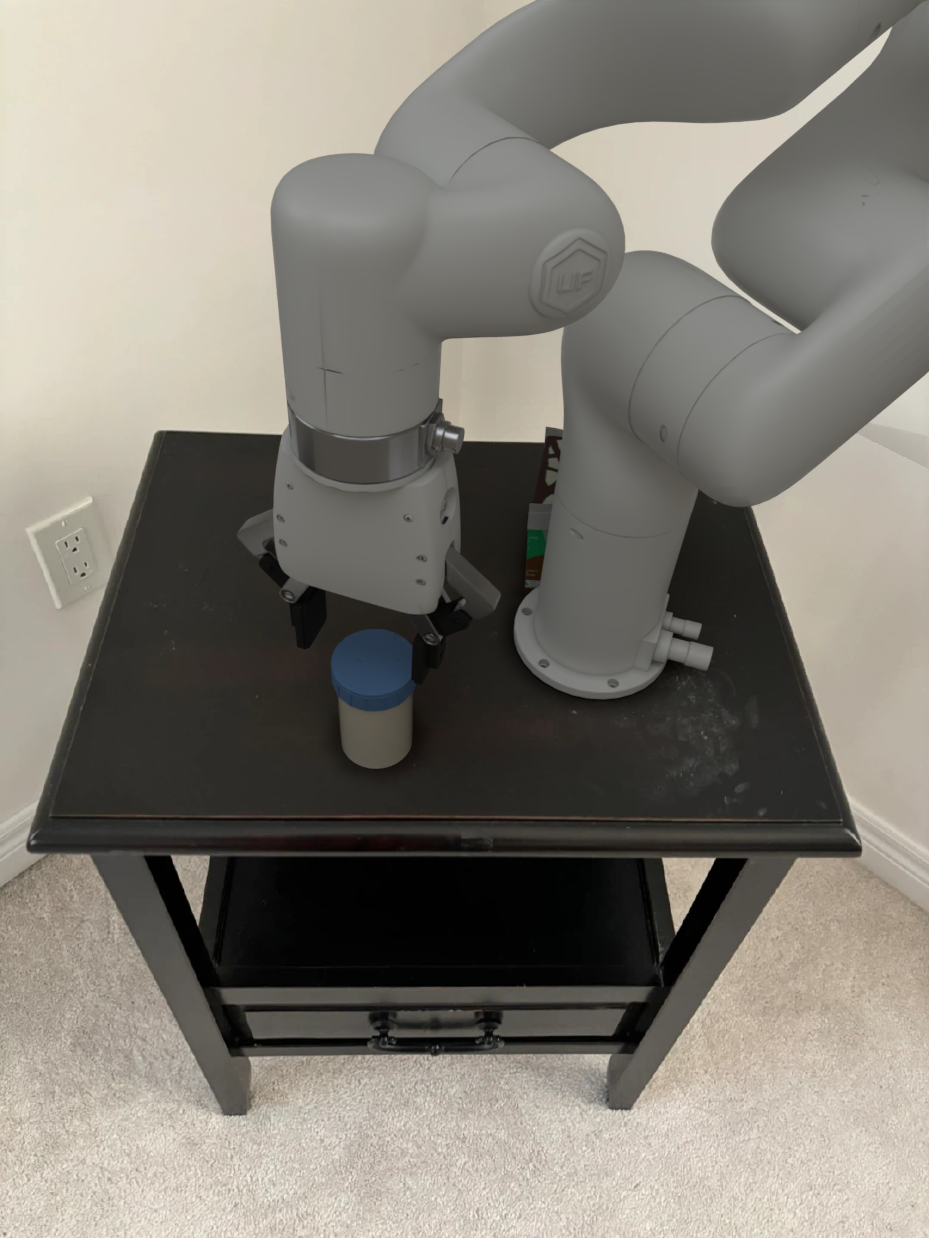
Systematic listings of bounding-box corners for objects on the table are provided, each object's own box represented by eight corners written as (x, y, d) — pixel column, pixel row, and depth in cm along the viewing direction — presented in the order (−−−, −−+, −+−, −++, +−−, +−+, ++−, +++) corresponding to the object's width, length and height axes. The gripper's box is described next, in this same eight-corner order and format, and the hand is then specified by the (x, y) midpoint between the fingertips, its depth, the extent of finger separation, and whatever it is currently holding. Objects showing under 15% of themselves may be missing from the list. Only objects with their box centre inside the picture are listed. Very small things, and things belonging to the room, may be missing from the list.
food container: (596, 614, 77) (609, 516, 70) (522, 605, 78) (528, 507, 71) (605, 524, 86) (618, 430, 79) (539, 517, 86) (546, 423, 80)
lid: (429, 658, 64) (429, 641, 63) (399, 722, 60) (398, 706, 59) (352, 636, 65) (351, 619, 64) (317, 697, 61) (316, 680, 60)
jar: (422, 722, 69) (424, 647, 63) (397, 778, 66) (396, 705, 60) (358, 702, 70) (353, 626, 64) (329, 756, 67) (321, 682, 60)
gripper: (547, 424, 48) (512, 647, 61) (243, 348, 51) (272, 576, 64) (505, 513, 43) (477, 735, 56) (172, 423, 46) (218, 654, 59)
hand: (368, 649), depth 60 cm, fingers open, 7 cm apart
